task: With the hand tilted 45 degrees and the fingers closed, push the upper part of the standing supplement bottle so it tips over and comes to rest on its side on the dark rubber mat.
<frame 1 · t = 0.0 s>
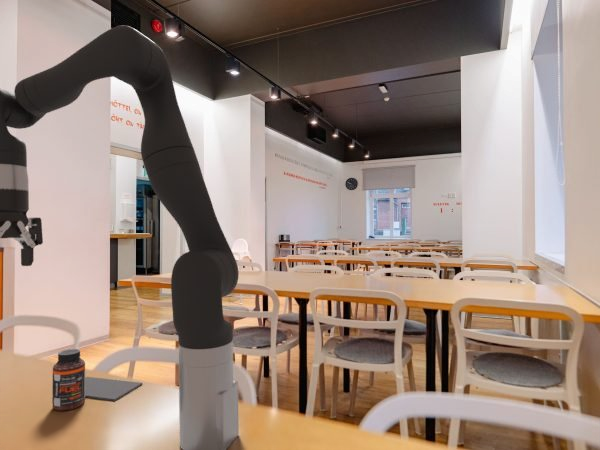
hand: (7, 267, 80), 29 cm above the table, tool pointing down, fingers open, 8 cm apart
supplement bottle: (69, 406, 82), on the table
rubber mat: (100, 388, 90), on the table
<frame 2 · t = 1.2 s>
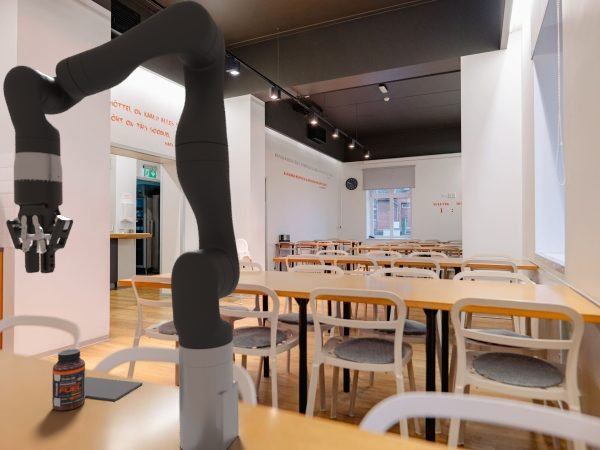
hand: (39, 272, 73), 29 cm above the table, tool pointing down, fingers open, 3 cm apart
nothing on the table moved.
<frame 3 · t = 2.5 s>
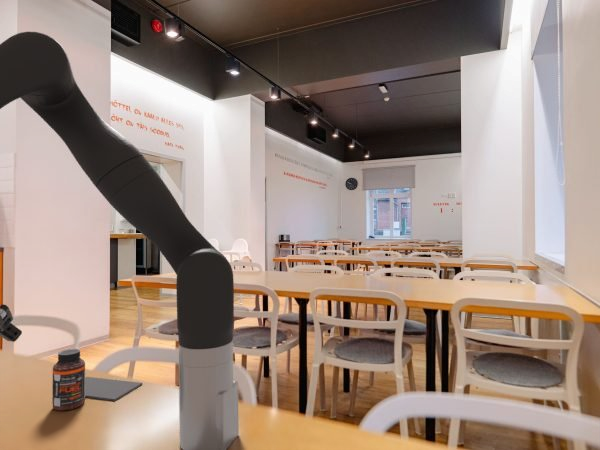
hand: (15, 336, 72), 17 cm above the table, tool tilted 45°, fingers closed
nothing on the table moved.
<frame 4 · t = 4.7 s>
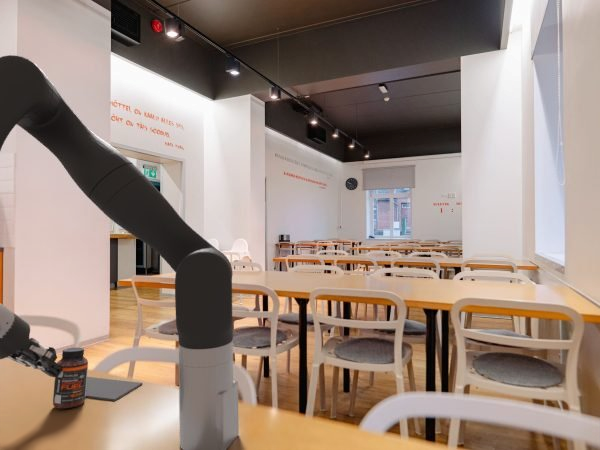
hand: (57, 372, 80), 8 cm above the table, tool tilted 45°, fingers closed
supplement bottle: (69, 405, 82), on the table, touching gripper
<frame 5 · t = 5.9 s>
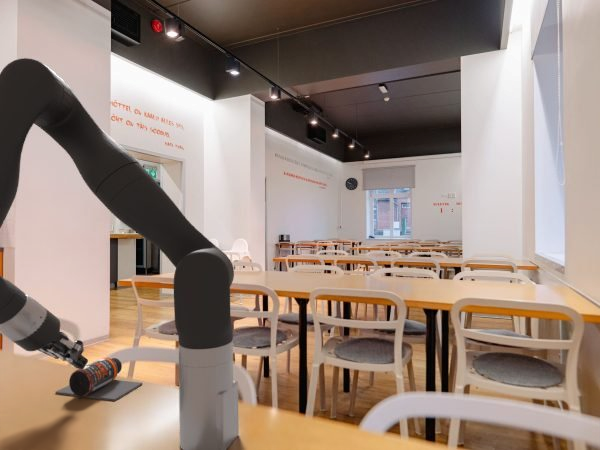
hand: (83, 364, 86), 7 cm above the table, tool tilted 45°, fingers closed
supplement bottle: (78, 384, 85), point 3 cm above the table, touching rubber mat
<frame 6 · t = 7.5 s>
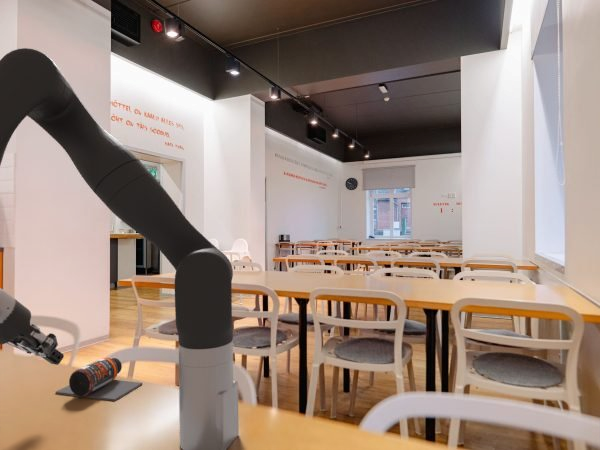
hand: (58, 360, 80), 10 cm above the table, tool tilted 45°, fingers closed
nothing on the table moved.
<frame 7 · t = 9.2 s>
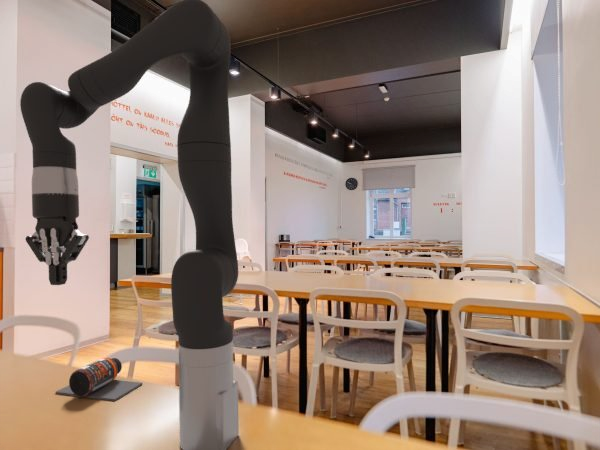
hand: (58, 284, 74), 27 cm above the table, tool pointing down, fingers closed
nothing on the table moved.
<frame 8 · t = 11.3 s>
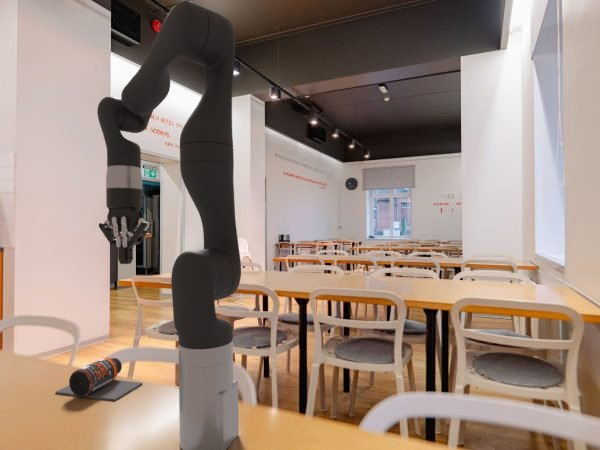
hand: (125, 263, 89), 29 cm above the table, tool pointing down, fingers closed
nothing on the table moved.
at the end: supplement bottle tilted 90°; supplement bottle inside the target area (4.5 cm from its centre), point 3.3 cm above the table; the gripper is holding nothing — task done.
